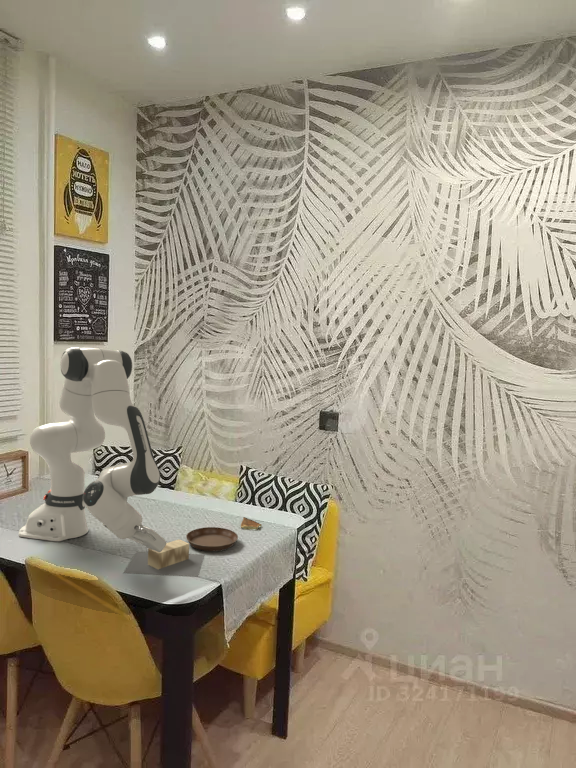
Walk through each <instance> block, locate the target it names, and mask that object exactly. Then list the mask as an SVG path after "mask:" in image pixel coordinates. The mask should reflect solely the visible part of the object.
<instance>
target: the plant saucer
mask: <svg viewBox="0 0 576 768" xmlns="http://www.w3.org/2000/svg"><path fill="white" fill-rule="evenodd" d="M185 535H186V536H185V537H186V540H187V543H189V545H190V546H192V547H193V549H196V550H198V549H199V551H202V550H203V551H204V552H212V551H213V552H222V551H225V549H226V550H228V549H230V548H231V547H232V546H234V545H235V544H236V542H237V540H238V538H239V536H238V534H237V532H235V531H234V530H232V529H228V528H224V527H215V526H207V527H199V528H196V529H193V530H191V531H189V532H188V533H187V534H185ZM221 550H222V551H221Z"/></svg>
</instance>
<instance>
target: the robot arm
mask: <svg viewBox="0 0 576 768" xmlns="http://www.w3.org/2000/svg"><path fill="white" fill-rule="evenodd" d="M132 370H133V361H132V358H131V356H130V354H129V353H128V352H126V351H123V350H121V349H120V350H119V349H115V350H114V349H110V348H105V347H79V346H75V347H74V346H73V347H70V348H69V347H68V348H67V349H65V350H64V351H63V353H62V354H61V357H60V371H61V374H62V376H63V377H64V381H63V384H62V390H61V394H60V398H59V402H58V403H59V407H60V409H61V411H62V412H63V413H64V414H66V415H67V416H69V417H70V418H69V420H67V421H61V422H49V423H46V424H42V425H39V426H37V427H35V428H34V429H32V432H31V434H30V437H29V444H30V447H31V449H32V450H33V453H35V454H36V455H38V456H39V457H41V458H42V459H43V460H44V461H45V463H46V465H47V466H48V470H49V475H50V476H49V477H50V489H49V490H48V491H47V493H46V494H45V495H44V496H43V501H44V503H42V504H41V505H40V506H38V507H36V509H34V510H33V511H32V512H31V513H30V514H29V515H28V516H27V519H26V524H25V525H23V526H22V527H21V528H20V529H19V530H18V537H20V538H29V539H34V540H35V539H37V540H42V541H49V542H50V541H51V542H62V541H65V540H68V539H74V538H78V537H82V536H84V535H86V534H87V533H88V532H89V526H88V524H87V523H88V522H87V518H86V509H87V511H89V513H90V514H91V515H92V516H93V517H94V518H95V519H96V520H97V521H99V522H100V523H102V525H103V526H104V527H105V528H106V529H108V530H109V531H110V532H111V533H112V534H113V535H114V536H116V538H118V539H120V540H127V539H129V540H131V541H133V542H134V543H135V542H136V543H138V544H140V545H142V546H144V547H146V548H147V549H151V550H155V551H157V552H161V551H162V550H163V548H164V547H165V545H166V543H167V541H166V539H164V538H163V537H162V536H161V534H159V533H157V531H155V529H154V530H153V529H152V528H150V527H148V526H145V525H143V523H142V522H143V517H142V514H140V512H138V510H137V509H135V507H134V506H132V504H130V503H128V498H129V497H133V496H143V495H151V494H152V493H153V492H154V491H155V490H156V488H158V485H159V483H160V480H161V471H160V468H159V466H158V464H157V462H156V460H155V459H156V458H155V457H154V454H153V449H152V445H151V442H150V438H149V434H148V431H147V427H146V424H145V420H144V417H143V414H142V413H141V410H140V409H139V407H137V406H134V403H133V402H132V400H131V395H130V386H129V381H128V379H129V378H130V376H131V374H132V372H133V371H132ZM96 418H97V419H98V420H97V419H96ZM99 421H101V422H102V423H104V424H107V425H111V426H115V427H121V428H123V429H124V430H125V431H126V433H127V435H128V439H129V443H130V446H131V452H132V454H133V455H132V456H133V459H132V461H129V462H125V463H120V464H116V465H111V466H108V467H105V468H103V469H102V470H101V471H100V473H99V474H98V477H97V479H95V480H94V481H92V482H90V483H89V484H88V485H87V486H86V487H85V484H86V483H85V482H86V481H85V479H86V477H85V476H86V475H85V474H86V472H85V470H84V468H83V467H82V466H81V465H79V464H77V463H76V462H74V461H72V458H71V455H72V454H74V453H82V452H89V451H92V450H94V449H97V448H100V447H101V446H102V445H104V442H105V439H106V431H105V429H104V426H103V425H102V424H101V422H99ZM85 508H86V509H85Z"/></svg>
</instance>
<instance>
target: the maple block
mask: <svg viewBox="0 0 576 768" xmlns="http://www.w3.org/2000/svg"><path fill="white" fill-rule="evenodd" d="M147 552H148V565H150V566H152V567H154V568H156V569H161V568H164V567H167V566H169V565H172V564H175V563H178V562H181V561H184V560H187V559H189V554H190V543H189V542H188V541H187V542H186V541H184V540H182V539H175V540H172V541H169V542H166V545H165V547H164V548H163V550H162V551H161V552H157V551H155V550H151V549H149V548H147Z"/></svg>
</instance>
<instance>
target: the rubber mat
mask: <svg viewBox="0 0 576 768" xmlns="http://www.w3.org/2000/svg"><path fill="white" fill-rule="evenodd" d="M204 557H206V554H199V553H189V559H187V560H184V561H181V562H178V563H175V564H172V565H169V566H167V567H164V568H161V569H156V568H154V567H152V566H150V565H148V551H143V550H142V551H139V550H138V551H135V552H134V555H133V556H132V558H131V560H130V561H129V563H128V564H127V565H126V567H125V569H124V570H123V573H122V574H132V575H150V576H151V575H152V576H170V577H191V578H192V577H193V578H195V577H196V578H197V577H199V573H200V571H201V568H202V564H203V561H204Z"/></svg>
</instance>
